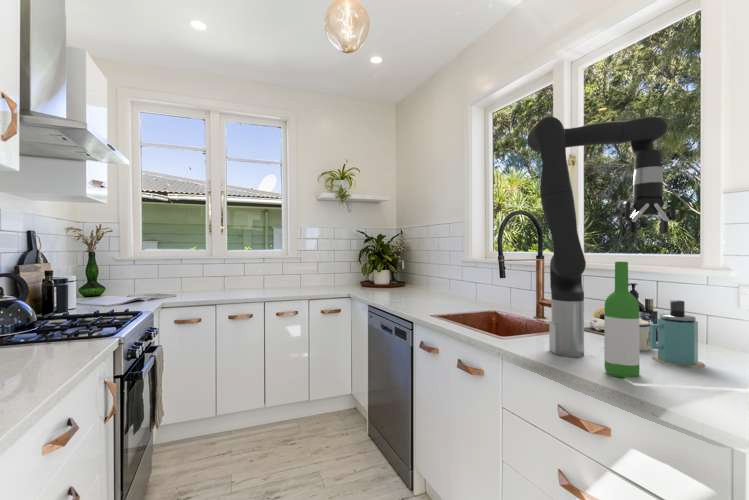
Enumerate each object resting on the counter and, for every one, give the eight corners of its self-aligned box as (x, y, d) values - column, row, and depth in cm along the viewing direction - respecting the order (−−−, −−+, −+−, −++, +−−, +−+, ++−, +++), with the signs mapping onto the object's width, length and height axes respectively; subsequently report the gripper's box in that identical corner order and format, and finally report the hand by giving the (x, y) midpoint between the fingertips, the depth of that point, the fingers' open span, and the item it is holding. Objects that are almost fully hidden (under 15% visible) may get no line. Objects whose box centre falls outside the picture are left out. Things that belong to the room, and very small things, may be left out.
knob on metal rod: (671, 355, 104) (670, 302, 104) (654, 348, 112) (654, 298, 112) (702, 357, 103) (702, 303, 103) (683, 349, 111) (683, 299, 111)
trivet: (667, 368, 102) (667, 366, 102) (643, 356, 114) (643, 354, 114) (716, 370, 100) (716, 368, 100) (686, 358, 112) (686, 356, 112)
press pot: (659, 364, 104) (659, 322, 104) (642, 355, 112) (642, 316, 112) (704, 366, 102) (704, 323, 102) (683, 357, 111) (683, 317, 111)
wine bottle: (637, 381, 92) (637, 262, 92) (601, 374, 97) (601, 261, 97) (641, 374, 98) (641, 261, 98) (607, 367, 103) (607, 261, 103)
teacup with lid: (655, 353, 118) (655, 316, 118) (623, 351, 120) (623, 315, 120) (638, 343, 129) (638, 310, 129) (609, 342, 131) (609, 309, 131)
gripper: (629, 181, 114) (629, 233, 114) (680, 180, 112) (680, 233, 112) (617, 185, 121) (617, 234, 121) (665, 184, 119) (665, 234, 119)
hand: (648, 234), depth 117 cm, fingers open, 8 cm apart
